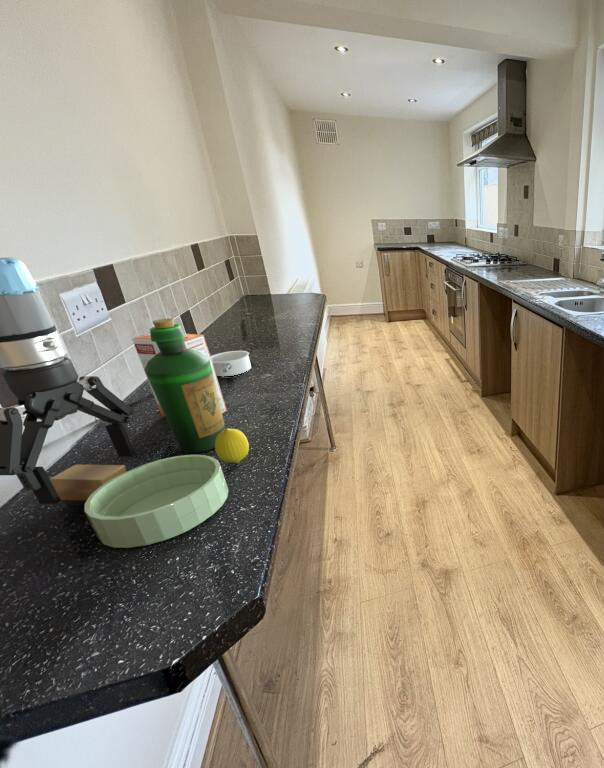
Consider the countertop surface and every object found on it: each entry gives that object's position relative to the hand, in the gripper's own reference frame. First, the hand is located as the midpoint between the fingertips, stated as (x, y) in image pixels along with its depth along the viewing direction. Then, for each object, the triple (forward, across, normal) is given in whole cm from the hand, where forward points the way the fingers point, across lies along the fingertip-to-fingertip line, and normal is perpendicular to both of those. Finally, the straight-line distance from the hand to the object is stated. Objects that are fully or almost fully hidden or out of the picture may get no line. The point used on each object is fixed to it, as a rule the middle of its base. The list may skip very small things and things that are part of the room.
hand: (92, 477), depth 71 cm
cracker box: (+5, +33, +8) cm, 34 cm away
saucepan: (+5, +59, +16) cm, 61 cm away
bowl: (+5, -3, -14) cm, 16 cm away
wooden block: (+5, 0, 0) cm, 5 cm away
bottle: (+5, +19, -4) cm, 20 cm away
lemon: (+5, +12, -16) cm, 21 cm away
